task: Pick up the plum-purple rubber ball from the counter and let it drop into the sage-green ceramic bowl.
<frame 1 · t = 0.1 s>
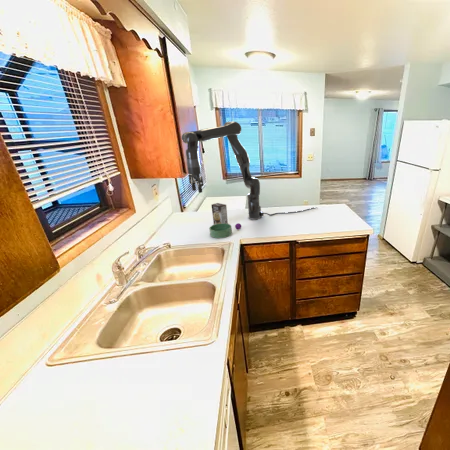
hand: (197, 191, 156), 29 cm above the worktop, tool pointing down, fingers open, 8 cm apart
coffee box: (221, 225, 181), on the worktop
bowl: (221, 234, 163), on the worktop
ball: (238, 226, 172), point 2 cm above the worktop
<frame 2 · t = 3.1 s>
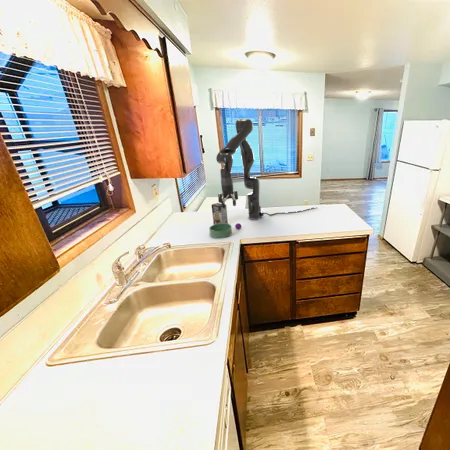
hand: (229, 207, 166), 17 cm above the worktop, tool pointing down, fingers open, 8 cm apart
nothing on the worktop moved.
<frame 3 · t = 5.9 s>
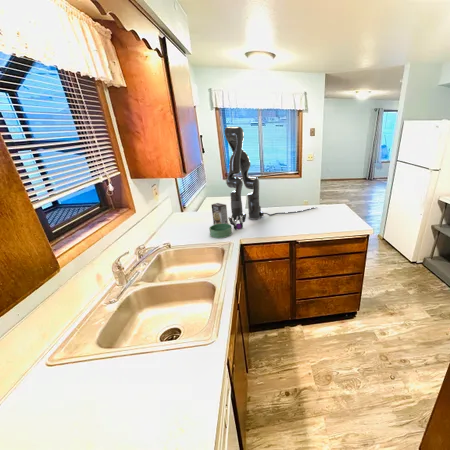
hand: (238, 228, 173), 0 cm above the worktop, tool pointing down, fingers closed on ball, 4 cm apart
ball: (238, 226, 172), point 2 cm above the worktop, touching gripper
everything else where it was.
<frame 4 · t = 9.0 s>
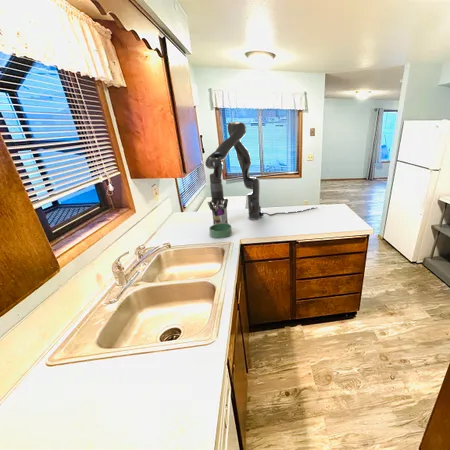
hand: (219, 215, 159), 14 cm above the worktop, tool pointing down, fingers closed on ball, 4 cm apart
ball: (219, 212, 158), point 16 cm above the worktop, touching gripper
everything else where it was.
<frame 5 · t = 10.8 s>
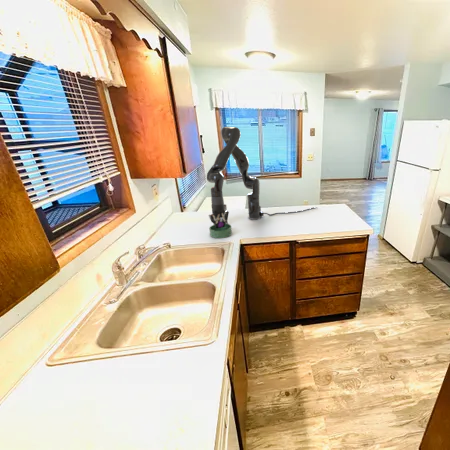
hand: (220, 227, 161), 5 cm above the worktop, tool pointing down, fingers closed on ball, 4 cm apart
ball: (220, 224, 161), point 7 cm above the worktop, touching gripper
everything else where it was.
when the fingers open (1 cm above the worktop, at t = 12.5 s): ball stays where it is, resting on bowl.
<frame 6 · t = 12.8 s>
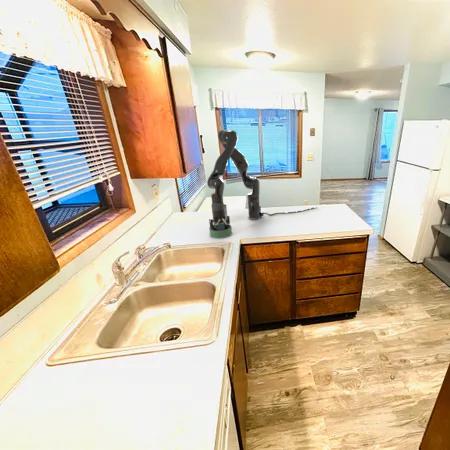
hand: (221, 231, 163), 2 cm above the worktop, tool pointing down, fingers open, 7 cm apart
ball: (220, 230, 162), point 3 cm above the worktop, touching bowl
everything else where it was.
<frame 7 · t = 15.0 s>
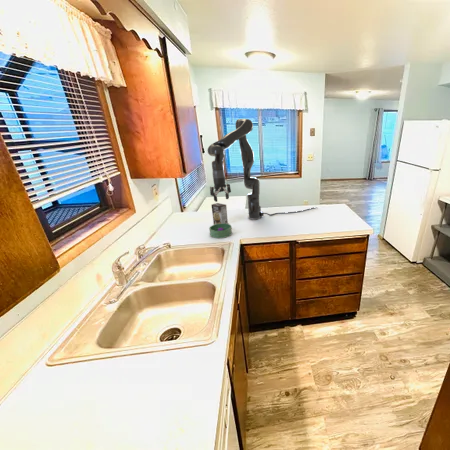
hand: (221, 200, 164), 22 cm above the worktop, tool pointing down, fingers open, 8 cm apart
nothing on the worktop moved.
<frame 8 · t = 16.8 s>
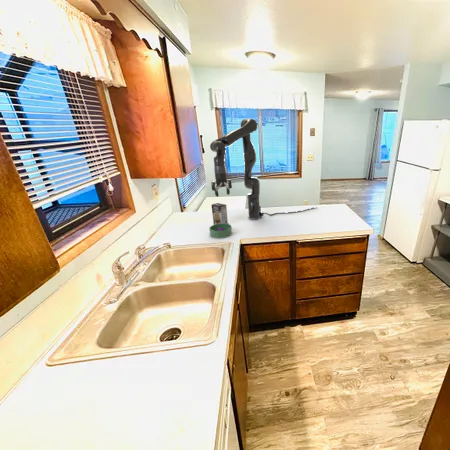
hand: (222, 195, 168), 24 cm above the worktop, tool pointing down, fingers open, 8 cm apart
nothing on the worktop moved.
at the end: ball inside the target area in the bowl (0.1 cm from its centre), point 2.7 cm above the bowl's base; the gripper is holding nothing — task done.
